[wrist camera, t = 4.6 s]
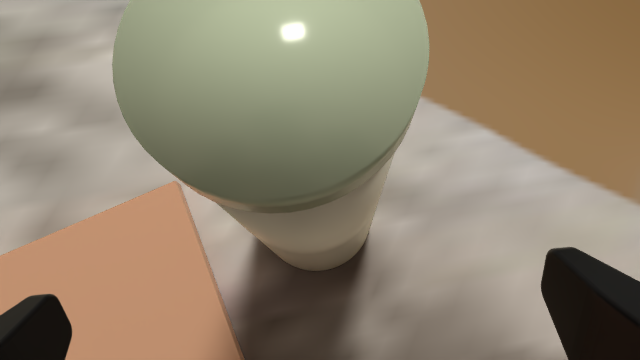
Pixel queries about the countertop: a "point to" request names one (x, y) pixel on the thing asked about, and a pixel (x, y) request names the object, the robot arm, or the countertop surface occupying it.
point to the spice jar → (276, 109)
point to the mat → (128, 283)
